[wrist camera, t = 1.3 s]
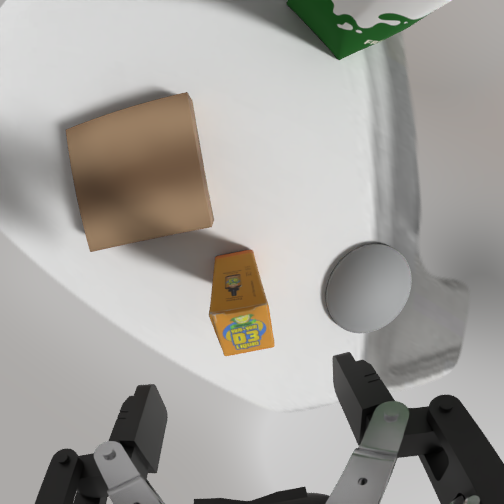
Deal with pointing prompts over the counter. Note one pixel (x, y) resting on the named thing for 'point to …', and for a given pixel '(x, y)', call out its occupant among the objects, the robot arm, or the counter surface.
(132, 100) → the counter surface
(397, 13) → the milk carton
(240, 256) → the supplement box
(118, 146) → the walnut plinth
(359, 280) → the grey coaster
